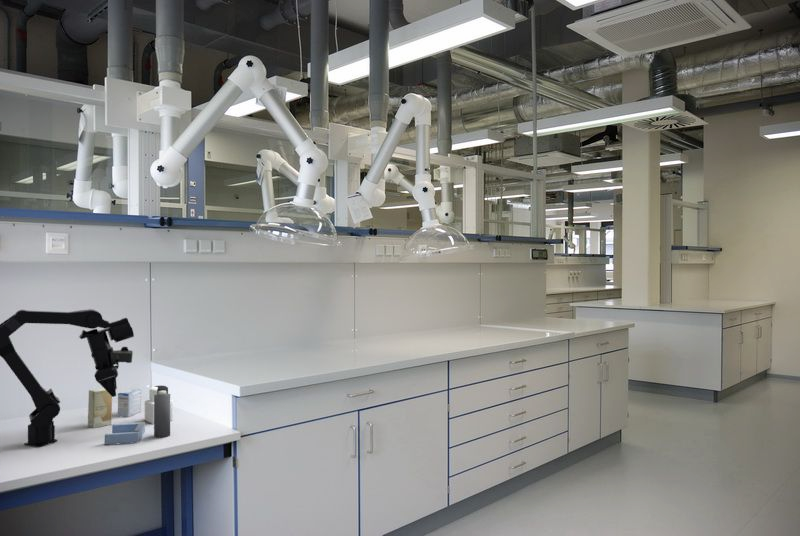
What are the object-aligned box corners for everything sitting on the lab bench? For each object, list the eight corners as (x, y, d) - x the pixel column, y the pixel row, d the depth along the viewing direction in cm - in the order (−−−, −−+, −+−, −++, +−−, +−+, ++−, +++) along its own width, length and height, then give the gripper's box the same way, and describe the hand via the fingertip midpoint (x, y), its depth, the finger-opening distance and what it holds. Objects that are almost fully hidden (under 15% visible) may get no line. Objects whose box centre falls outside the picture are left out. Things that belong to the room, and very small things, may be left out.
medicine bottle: (164, 416, 212) (164, 383, 212) (173, 420, 207) (173, 386, 207) (144, 420, 207) (144, 386, 207) (152, 424, 202) (152, 389, 202)
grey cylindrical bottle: (162, 438, 186) (162, 393, 186) (150, 436, 188) (150, 392, 188) (173, 434, 191) (173, 390, 191) (161, 432, 192) (161, 389, 192)
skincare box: (93, 428, 197) (93, 391, 197) (87, 426, 200) (87, 390, 200) (112, 424, 202) (112, 388, 202) (106, 422, 205) (106, 387, 205)
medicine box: (130, 411, 220) (130, 388, 220) (141, 412, 219) (141, 388, 219) (117, 417, 212) (117, 392, 212) (128, 417, 212) (128, 393, 211)
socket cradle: (104, 444, 179) (104, 434, 179) (113, 433, 191) (113, 423, 191) (138, 442, 182) (138, 431, 182) (144, 431, 194) (144, 421, 194)
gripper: (126, 344, 184) (141, 391, 186) (127, 335, 201) (140, 378, 203) (88, 356, 180) (103, 403, 182) (91, 345, 197) (105, 389, 199)
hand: (114, 392), depth 192 cm, fingers open, 9 cm apart
